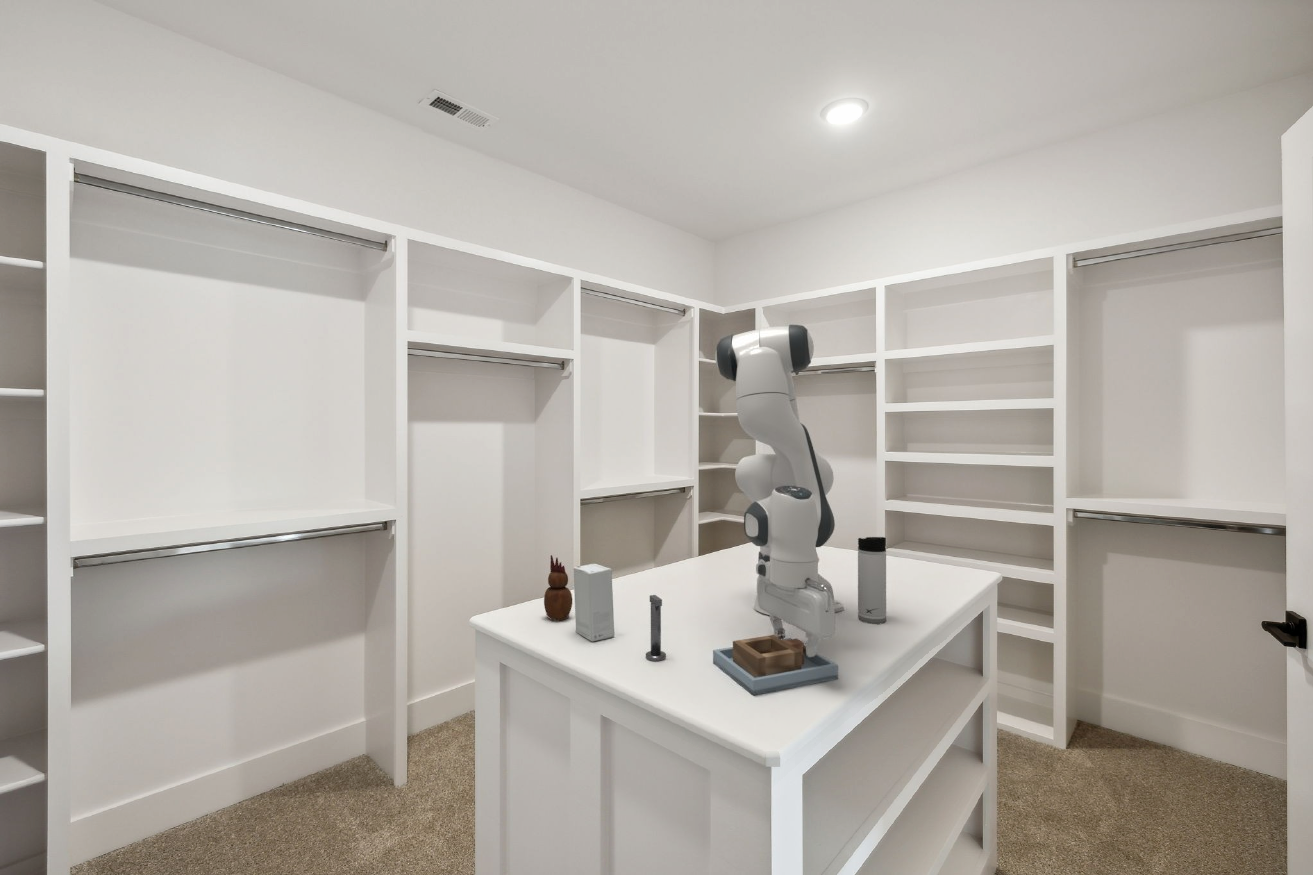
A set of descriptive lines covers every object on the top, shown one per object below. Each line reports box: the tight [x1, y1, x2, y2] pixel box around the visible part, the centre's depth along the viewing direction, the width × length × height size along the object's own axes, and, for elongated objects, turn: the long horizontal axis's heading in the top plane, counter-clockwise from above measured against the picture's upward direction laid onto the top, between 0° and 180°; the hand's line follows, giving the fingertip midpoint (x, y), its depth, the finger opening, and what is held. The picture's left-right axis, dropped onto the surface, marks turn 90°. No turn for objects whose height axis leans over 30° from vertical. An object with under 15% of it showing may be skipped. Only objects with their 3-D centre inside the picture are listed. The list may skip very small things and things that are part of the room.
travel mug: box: [857, 536, 887, 625], centre depth 133 cm, size 6×7×20 cm
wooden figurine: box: [543, 554, 573, 621], centre depth 135 cm, size 7×6×15 cm
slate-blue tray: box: [712, 637, 839, 696], centre depth 105 cm, size 18×15×2 cm
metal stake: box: [645, 594, 667, 662], centre depth 111 cm, size 4×4×12 cm
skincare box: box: [573, 563, 615, 642], centre depth 124 cm, size 8×6×15 cm
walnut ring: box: [732, 634, 805, 678], centre depth 105 cm, size 12×9×4 cm
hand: (793, 646), depth 106 cm, fingers open, 8 cm apart
